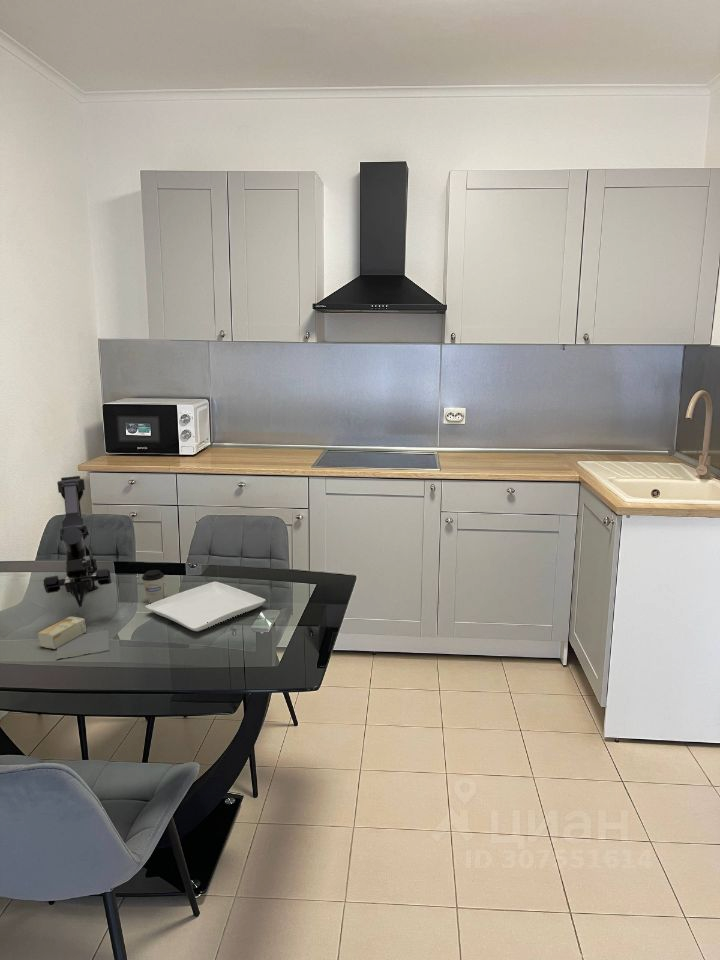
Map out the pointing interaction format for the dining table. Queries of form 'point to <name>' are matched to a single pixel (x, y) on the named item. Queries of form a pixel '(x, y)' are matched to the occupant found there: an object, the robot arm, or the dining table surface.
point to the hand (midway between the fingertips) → (80, 606)
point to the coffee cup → (153, 585)
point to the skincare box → (61, 632)
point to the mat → (88, 642)
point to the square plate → (206, 605)
